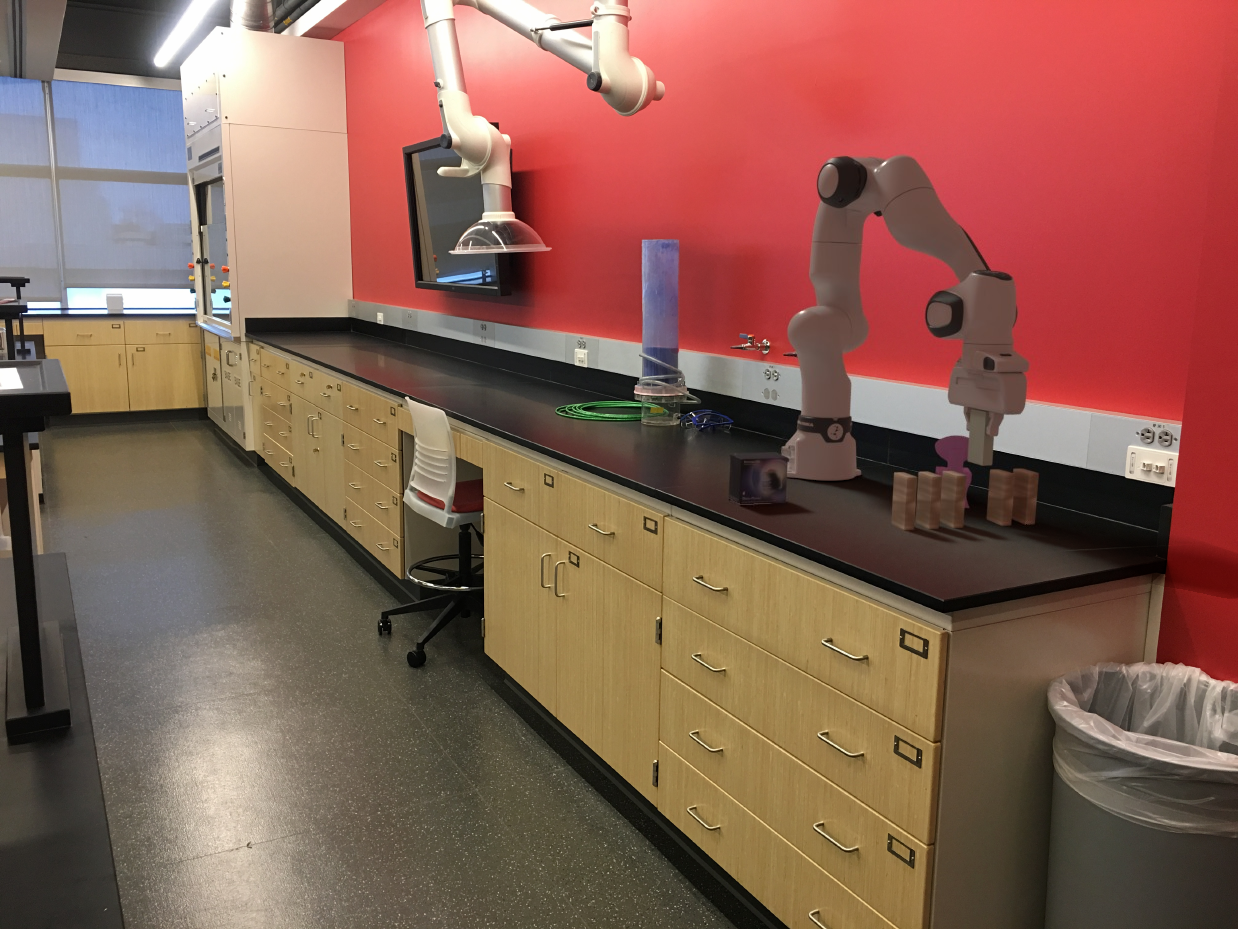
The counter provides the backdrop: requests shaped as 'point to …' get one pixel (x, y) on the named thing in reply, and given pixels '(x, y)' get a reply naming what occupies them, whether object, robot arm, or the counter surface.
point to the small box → (758, 477)
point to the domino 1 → (904, 501)
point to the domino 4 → (980, 438)
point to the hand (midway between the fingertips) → (981, 433)
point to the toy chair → (954, 457)
